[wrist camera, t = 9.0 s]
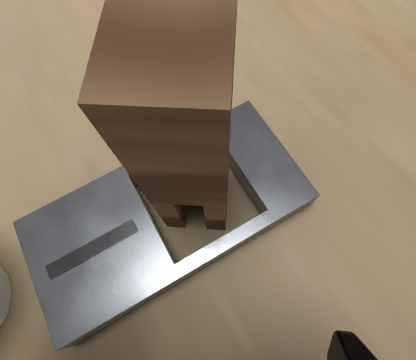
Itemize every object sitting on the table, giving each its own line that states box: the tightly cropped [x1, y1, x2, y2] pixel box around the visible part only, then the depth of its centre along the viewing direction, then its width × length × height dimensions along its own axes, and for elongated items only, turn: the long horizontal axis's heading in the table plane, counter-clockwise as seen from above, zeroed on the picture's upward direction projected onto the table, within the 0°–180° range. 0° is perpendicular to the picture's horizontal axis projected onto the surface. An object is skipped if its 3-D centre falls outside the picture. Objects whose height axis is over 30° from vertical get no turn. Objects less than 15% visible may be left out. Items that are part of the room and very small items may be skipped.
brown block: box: [77, 0, 237, 230], centre depth 14 cm, size 4×4×13 cm
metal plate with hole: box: [13, 101, 320, 351], centre depth 19 cm, size 8×16×2 cm, turn 120°
